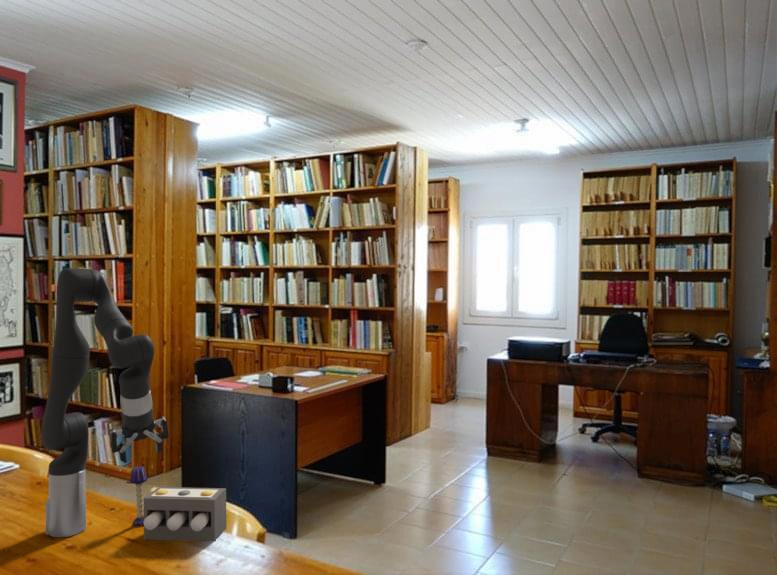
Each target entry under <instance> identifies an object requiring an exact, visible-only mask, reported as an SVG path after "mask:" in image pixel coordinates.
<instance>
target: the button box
mask: <svg viewBox="0 0 777 575" xmlns="http://www.w3.org/2000/svg"><path fill="white" fill-rule="evenodd" d="M157 510H165V518H164V519H162V522H161V523H160V524H159V525H158V526H157V527H155V528H154V529H153V530H148V529H146V528H145V527H144V526H143V540H144V539H149V540H150V541H175V540H184V541H185V542H209V541H215V542H217V540H218V539H217V538H220V536H221V535H222V534H223V533H224V531H226V529H227V488H223V487H221V488H218V487H174V486H158V487H157V488H155V489H154V490H153V491H150V493H148V494H147V495H146V496H144V497H143V514H144V515H143V517H144V520H145V518H146V517H148V516H149V515H150V514H151V513H153V512H156V511H157ZM179 511H187V519H186V520H185V522H184V524H183V525H182V526H181V527H179V528H178V529H177V530H175V531H172V530H170V529H169V528H168V526H167V521H168V519H169V518H171V517H172V516H173V515H174V514H175V513H177V512H179ZM203 511H208V512H210V519H209V521H208V523H207V524H206V525H205V527H204V528H203V529H202V530H200V531H194V530H193V529H192V528H191V521H192V520H193V519H194V518H195V517H196V516H197V515H198V514H199V513H202V512H203ZM216 539H217V540H216ZM186 540H188V541H186ZM184 541H183V542H184Z"/></svg>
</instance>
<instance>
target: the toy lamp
mask: <svg viewBox="0 0 777 575" xmlns="http://www.w3.org/2000/svg"><path fill="white" fill-rule="evenodd" d="M130 475H131V476H130V479H129V482H130V484H132V485H135V487H136V488H135V495H136V500H135V501H136V518H135V519H134V520H133V522H132V526H133V525H134V526H133V527H135V526H141V525H144V497H143V494H144V493H143V483H145V482H147V481H148V476H147V473H146V470H145V467H144V466H141V465H140V466H139V465H138V466H135V467H133V468H132V471H131V474H130ZM141 527H142V526H141Z"/></svg>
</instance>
